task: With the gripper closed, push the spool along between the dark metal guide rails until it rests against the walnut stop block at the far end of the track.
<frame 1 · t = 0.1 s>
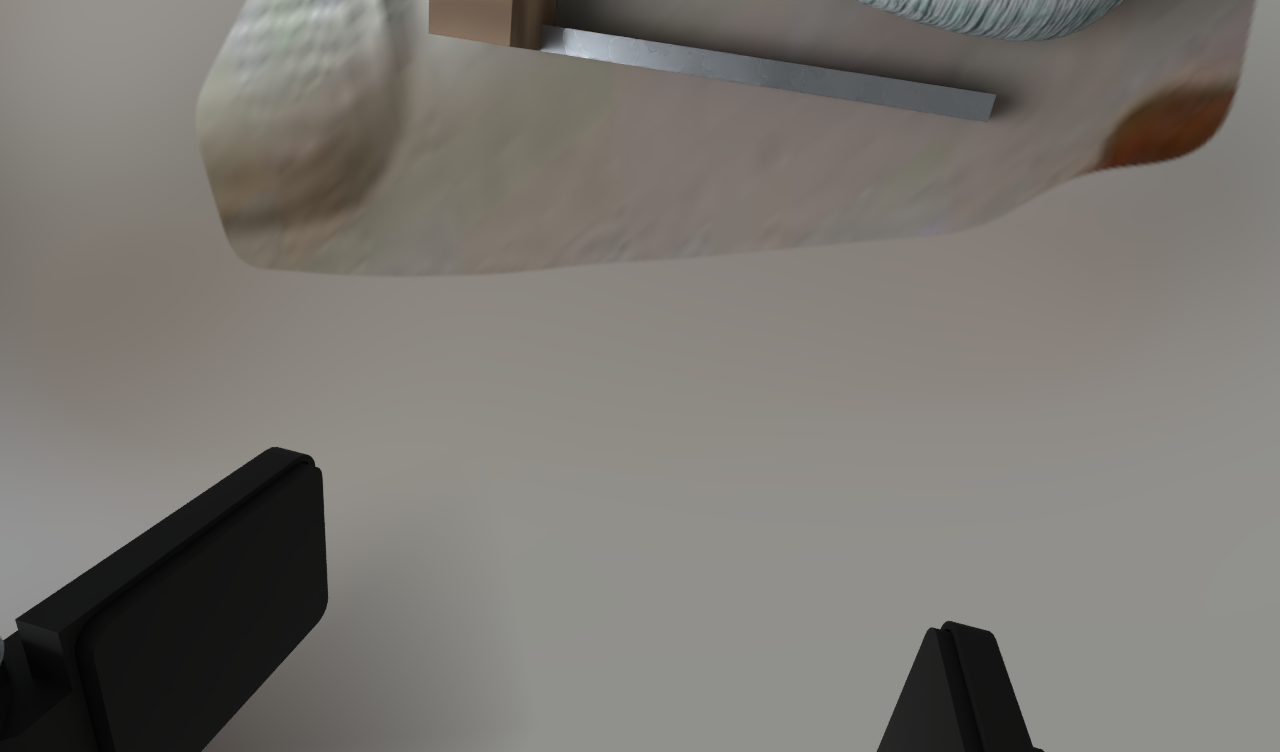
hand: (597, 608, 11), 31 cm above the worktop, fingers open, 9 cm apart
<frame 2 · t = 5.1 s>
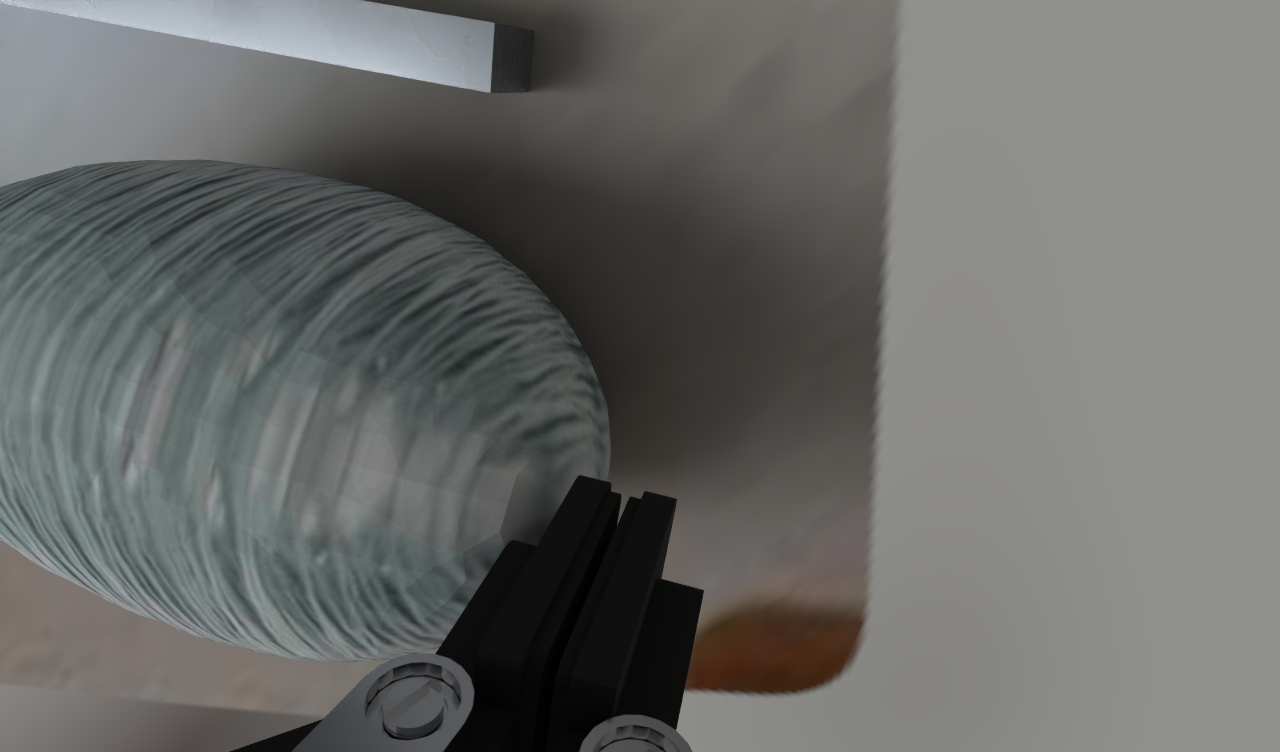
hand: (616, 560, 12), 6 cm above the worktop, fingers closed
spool: (397, 336, 18), on the worktop, touching gripper
guide rails: (128, 275, 19), on the worktop
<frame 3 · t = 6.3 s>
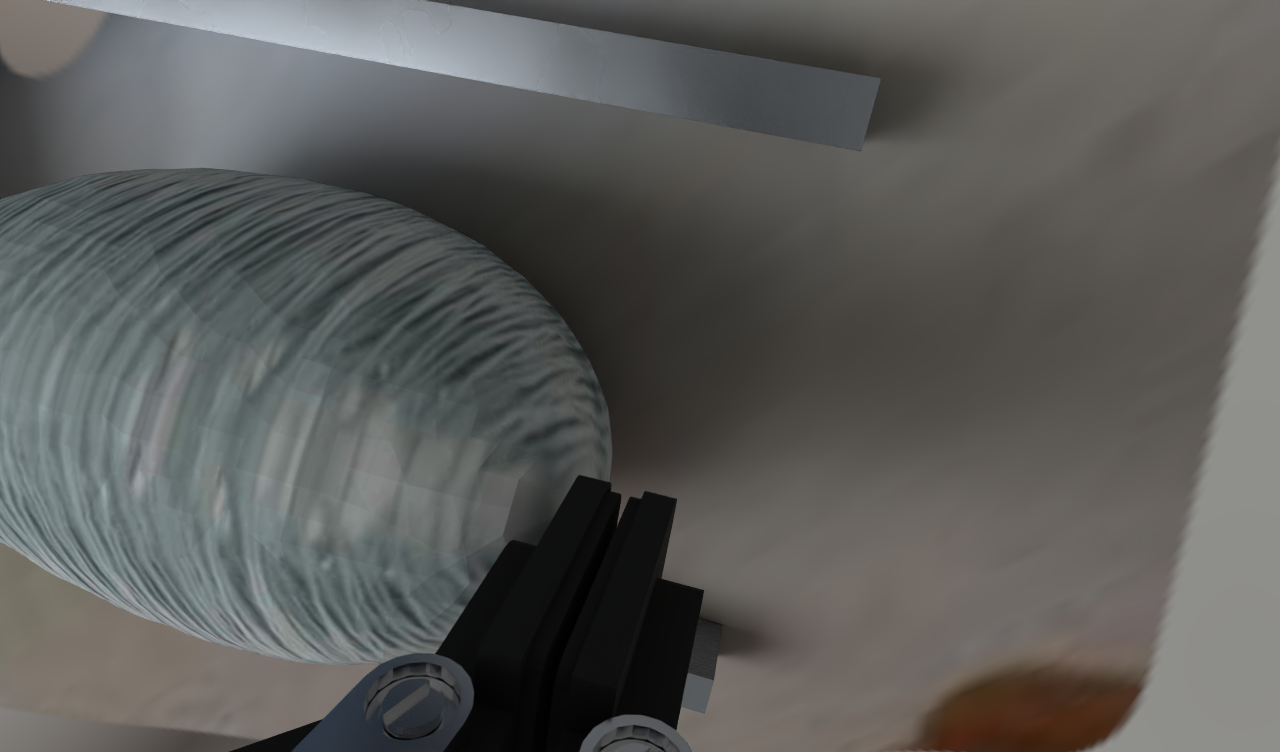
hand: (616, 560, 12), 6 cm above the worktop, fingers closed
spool: (399, 340, 18), on the worktop, touching gripper
guide rails: (360, 322, 18), on the worktop
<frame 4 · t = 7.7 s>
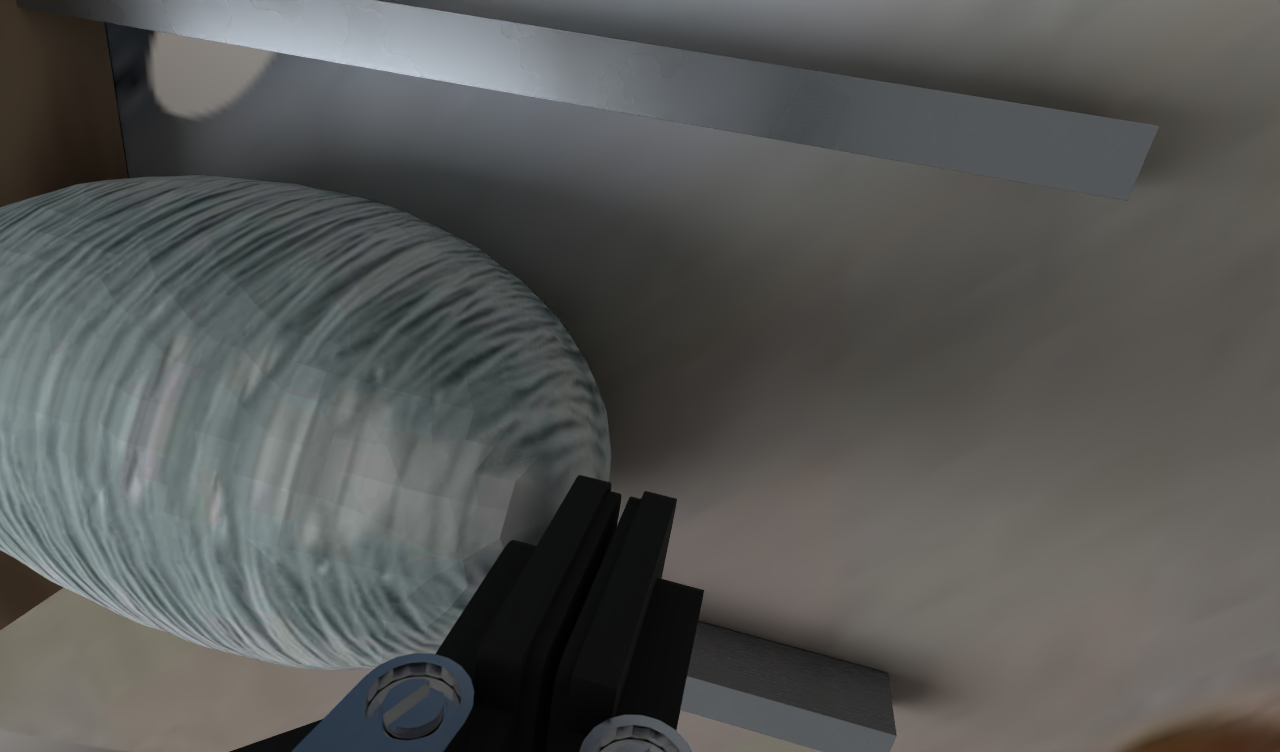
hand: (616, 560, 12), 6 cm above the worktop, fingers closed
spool: (397, 345, 18), on the worktop, touching gripper
guide rails: (521, 366, 18), on the worktop
end stop: (80, 264, 19), on the worktop
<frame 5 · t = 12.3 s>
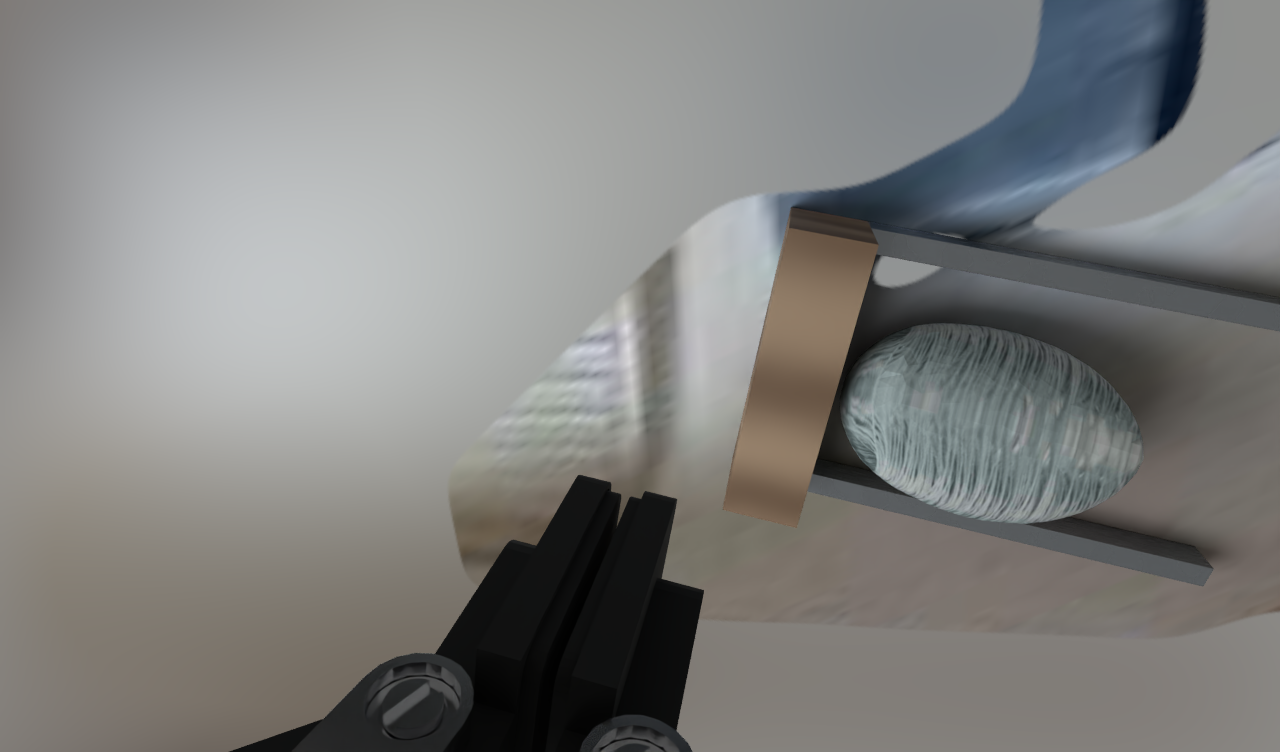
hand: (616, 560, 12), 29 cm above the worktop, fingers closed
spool: (963, 388, 39), on the worktop
guide rails: (1033, 399, 38), on the worktop
end stop: (794, 349, 40), on the worktop
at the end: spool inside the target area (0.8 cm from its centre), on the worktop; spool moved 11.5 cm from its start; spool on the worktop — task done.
